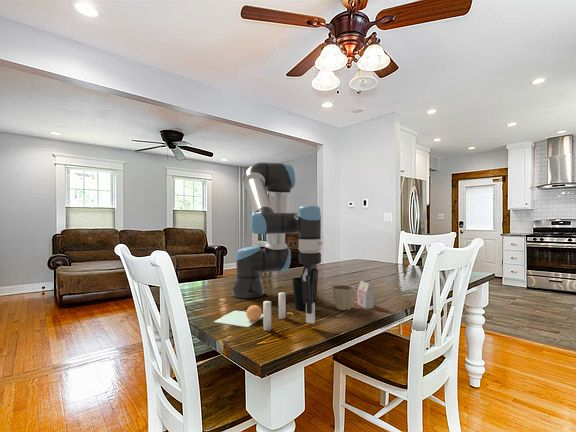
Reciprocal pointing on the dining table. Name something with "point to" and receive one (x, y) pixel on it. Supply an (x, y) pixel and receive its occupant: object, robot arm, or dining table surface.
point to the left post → (267, 315)
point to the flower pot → (343, 296)
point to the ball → (254, 313)
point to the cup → (298, 294)
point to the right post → (282, 305)
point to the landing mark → (236, 319)
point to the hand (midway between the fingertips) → (310, 322)
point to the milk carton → (365, 296)
